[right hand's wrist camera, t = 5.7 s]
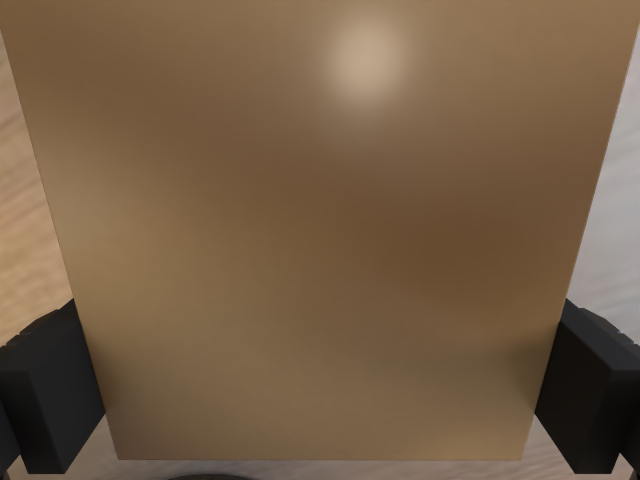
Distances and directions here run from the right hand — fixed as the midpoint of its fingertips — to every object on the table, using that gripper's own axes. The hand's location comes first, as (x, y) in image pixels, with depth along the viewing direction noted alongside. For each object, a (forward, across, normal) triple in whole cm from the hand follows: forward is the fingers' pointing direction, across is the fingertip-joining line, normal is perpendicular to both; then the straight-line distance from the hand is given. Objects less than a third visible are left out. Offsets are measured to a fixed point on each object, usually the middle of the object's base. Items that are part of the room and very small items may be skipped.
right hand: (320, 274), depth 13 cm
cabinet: (+6, 0, -6) cm, 9 cm away
